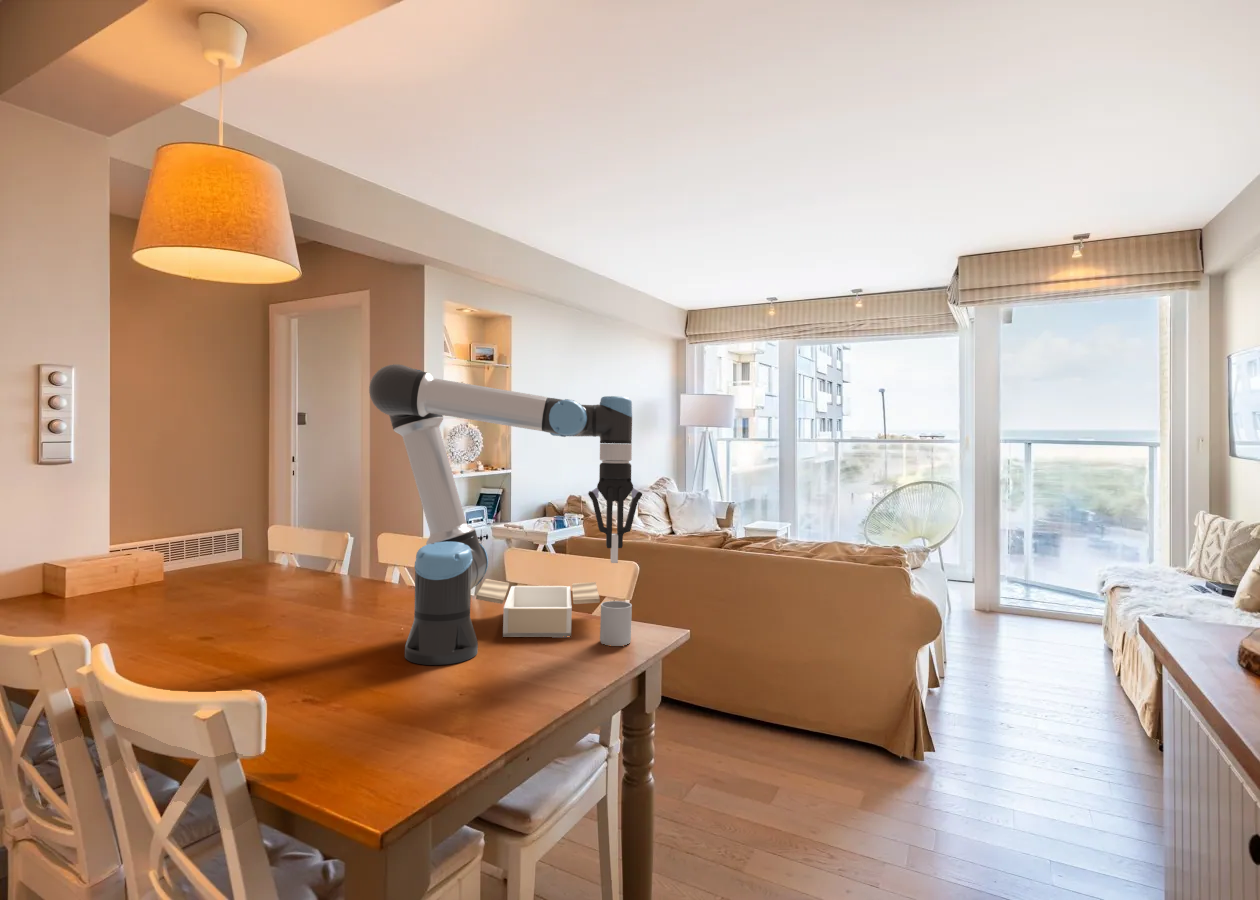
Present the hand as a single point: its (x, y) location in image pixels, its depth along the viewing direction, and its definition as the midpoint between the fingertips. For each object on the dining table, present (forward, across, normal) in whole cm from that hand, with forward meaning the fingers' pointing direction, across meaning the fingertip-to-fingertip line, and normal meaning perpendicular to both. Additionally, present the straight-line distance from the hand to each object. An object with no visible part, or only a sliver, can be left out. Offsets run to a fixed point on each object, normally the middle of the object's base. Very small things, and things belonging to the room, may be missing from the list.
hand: (614, 561), depth 156 cm
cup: (+19, -1, +1) cm, 19 cm away
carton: (+18, +18, -14) cm, 29 cm away
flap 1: (+9, +29, -15) cm, 34 cm away
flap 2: (+10, +6, -14) cm, 19 cm away
